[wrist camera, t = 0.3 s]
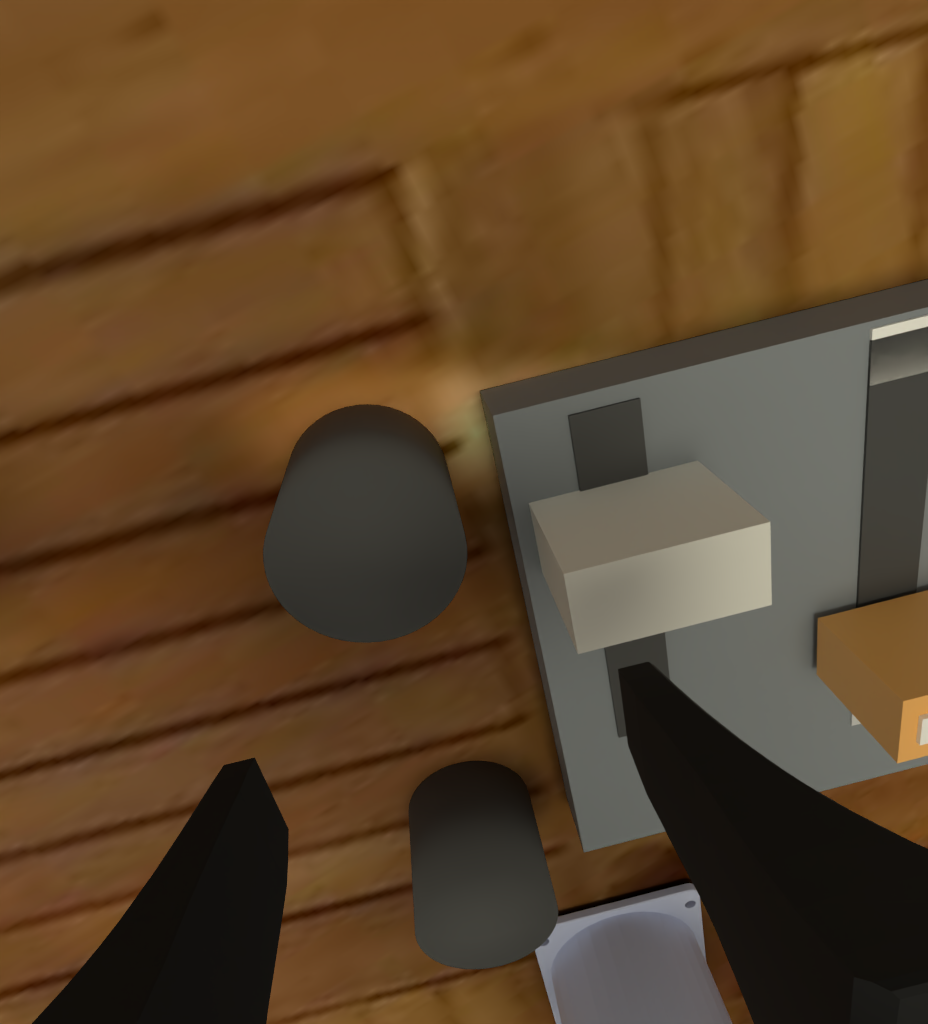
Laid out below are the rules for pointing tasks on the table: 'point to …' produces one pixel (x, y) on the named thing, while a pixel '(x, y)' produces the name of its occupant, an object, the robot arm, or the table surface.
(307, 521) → the squat charcoal cylinder
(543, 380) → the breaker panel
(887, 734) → the breaker paddle
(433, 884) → the dark grey cylinder
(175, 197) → the table surface
